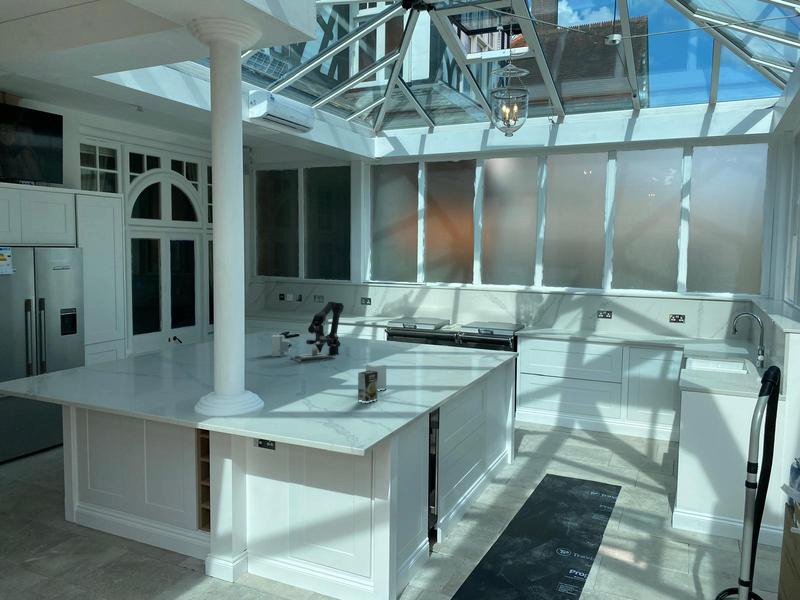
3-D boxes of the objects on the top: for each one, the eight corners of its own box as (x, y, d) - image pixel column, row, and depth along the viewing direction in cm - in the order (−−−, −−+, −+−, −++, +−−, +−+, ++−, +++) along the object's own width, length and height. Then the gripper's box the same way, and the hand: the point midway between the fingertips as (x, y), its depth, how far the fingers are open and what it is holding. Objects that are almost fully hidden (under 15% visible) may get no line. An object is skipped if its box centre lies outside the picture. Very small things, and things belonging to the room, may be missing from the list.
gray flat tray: (323, 354, 470) (323, 352, 469) (330, 357, 457) (330, 356, 457) (294, 357, 458) (294, 355, 458) (301, 360, 446) (301, 358, 446)
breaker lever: (316, 356, 461) (316, 347, 460) (317, 357, 458) (317, 348, 457) (311, 357, 459) (311, 348, 458) (313, 357, 456) (313, 348, 456)
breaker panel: (324, 355, 473) (324, 351, 473) (334, 359, 456) (334, 355, 455) (291, 358, 460) (290, 354, 460) (300, 363, 443) (300, 358, 443)
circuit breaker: (290, 356, 467) (290, 336, 466) (271, 356, 468) (270, 336, 466) (292, 354, 475) (292, 335, 473) (273, 354, 475) (273, 334, 474)
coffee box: (366, 404, 334) (366, 374, 333) (357, 402, 338) (357, 372, 337) (378, 400, 341) (378, 371, 339) (369, 398, 345) (369, 369, 344)
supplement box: (386, 390, 364) (386, 364, 363) (373, 392, 360) (373, 366, 358) (378, 387, 372) (378, 362, 370) (365, 389, 367) (365, 363, 366)
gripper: (311, 334, 447) (312, 355, 449) (335, 332, 456) (336, 353, 458) (305, 332, 457) (306, 353, 458) (329, 330, 466) (329, 351, 467)
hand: (319, 352), depth 460 cm, fingers closed
